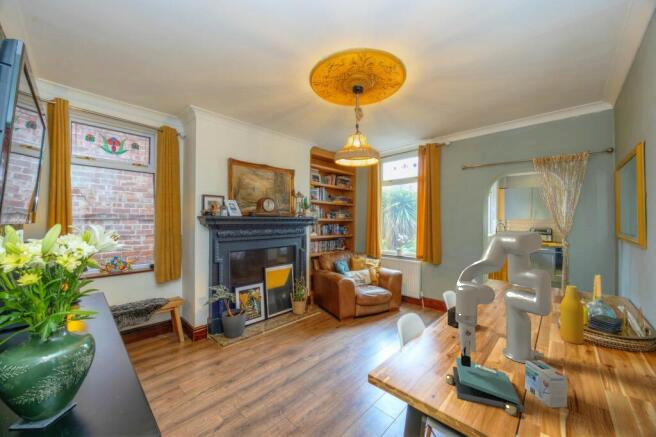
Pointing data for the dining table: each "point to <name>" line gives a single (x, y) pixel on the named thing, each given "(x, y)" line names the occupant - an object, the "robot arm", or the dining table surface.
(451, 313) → the black box
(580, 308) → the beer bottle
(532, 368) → the light bulb box
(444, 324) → the dining table surface
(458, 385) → the base
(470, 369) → the plate
